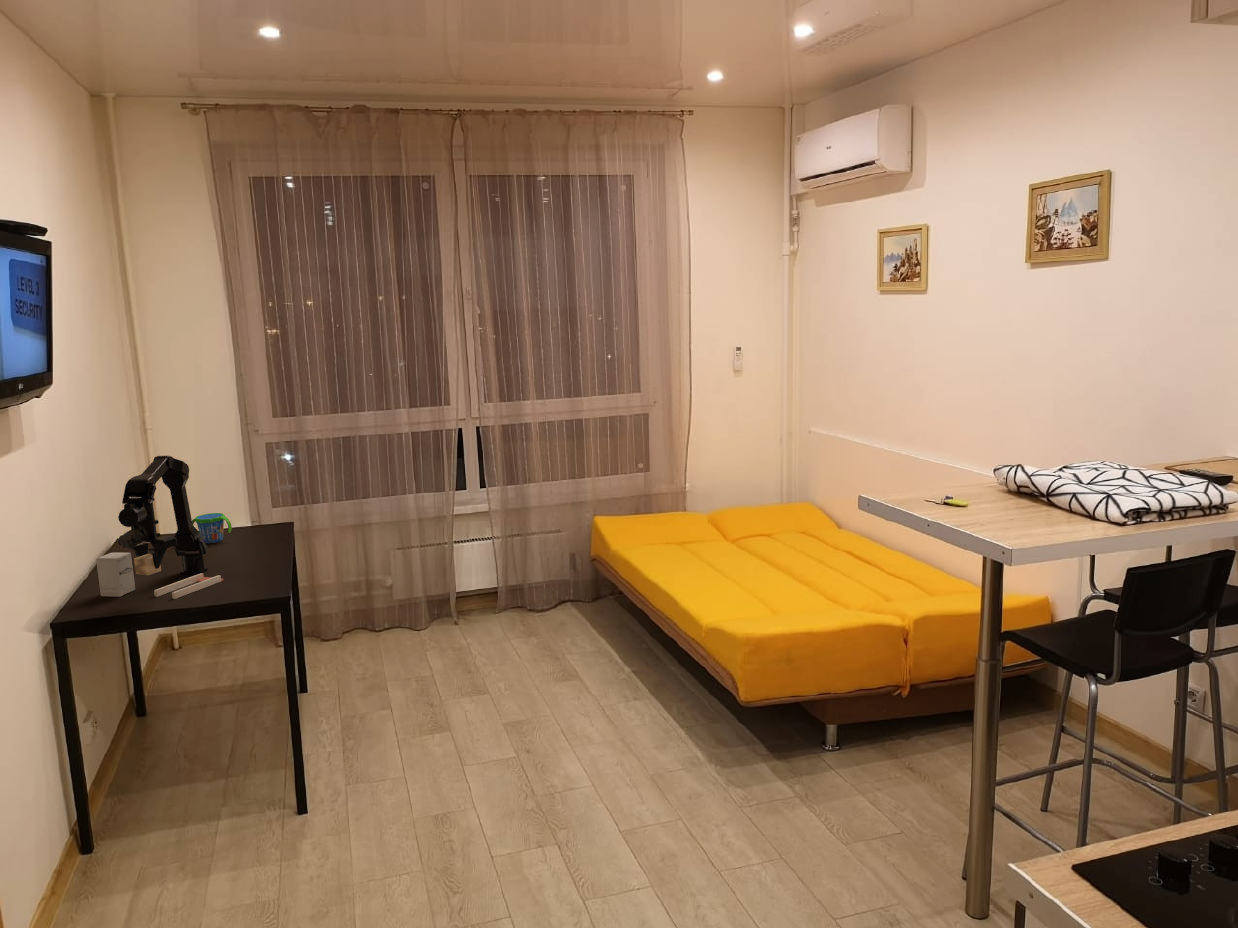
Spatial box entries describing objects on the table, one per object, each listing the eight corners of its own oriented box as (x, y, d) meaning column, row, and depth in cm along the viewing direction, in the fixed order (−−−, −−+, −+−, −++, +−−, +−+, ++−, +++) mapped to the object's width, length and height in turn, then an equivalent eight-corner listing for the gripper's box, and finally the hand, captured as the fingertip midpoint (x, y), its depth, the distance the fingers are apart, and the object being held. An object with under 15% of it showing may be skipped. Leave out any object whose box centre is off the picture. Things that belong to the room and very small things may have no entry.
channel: (154, 596, 299) (154, 590, 299) (204, 578, 317) (203, 572, 317) (175, 598, 296) (174, 592, 296) (223, 580, 314) (223, 574, 314)
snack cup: (185, 544, 362) (182, 518, 361) (202, 537, 373) (199, 512, 371) (222, 545, 360) (219, 519, 358) (238, 538, 370) (235, 512, 368)
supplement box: (120, 597, 300) (115, 558, 297) (100, 596, 301) (94, 558, 299) (136, 589, 307) (131, 552, 305) (116, 589, 308) (111, 551, 306)
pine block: (136, 573, 291) (133, 558, 290) (149, 569, 296) (147, 553, 295) (148, 575, 289) (145, 559, 288) (161, 570, 294) (159, 555, 293)
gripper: (99, 523, 286) (106, 572, 289) (144, 527, 279) (151, 578, 282) (130, 514, 296) (137, 562, 299) (175, 518, 289) (181, 567, 292)
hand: (150, 567), depth 293 cm, fingers closed on pine block, 5 cm apart
